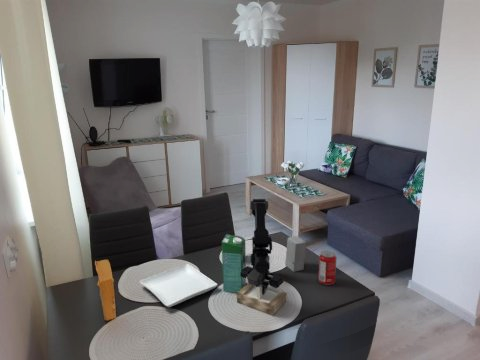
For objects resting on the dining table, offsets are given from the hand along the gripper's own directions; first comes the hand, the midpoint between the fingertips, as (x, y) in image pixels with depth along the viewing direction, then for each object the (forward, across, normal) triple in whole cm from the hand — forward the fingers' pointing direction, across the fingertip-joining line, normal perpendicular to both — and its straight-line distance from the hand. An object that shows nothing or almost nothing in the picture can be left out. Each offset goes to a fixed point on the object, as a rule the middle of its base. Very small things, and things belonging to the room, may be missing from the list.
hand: (261, 294), depth 165 cm
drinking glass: (+4, -32, +27) cm, 42 cm away
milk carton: (+4, -17, +4) cm, 18 cm away
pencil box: (+4, 0, 0) cm, 4 cm away
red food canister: (+4, +18, +31) cm, 36 cm away
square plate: (+5, -39, -11) cm, 41 cm away
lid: (+2, 0, 0) cm, 2 cm away
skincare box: (+4, -1, +36) cm, 36 cm away
